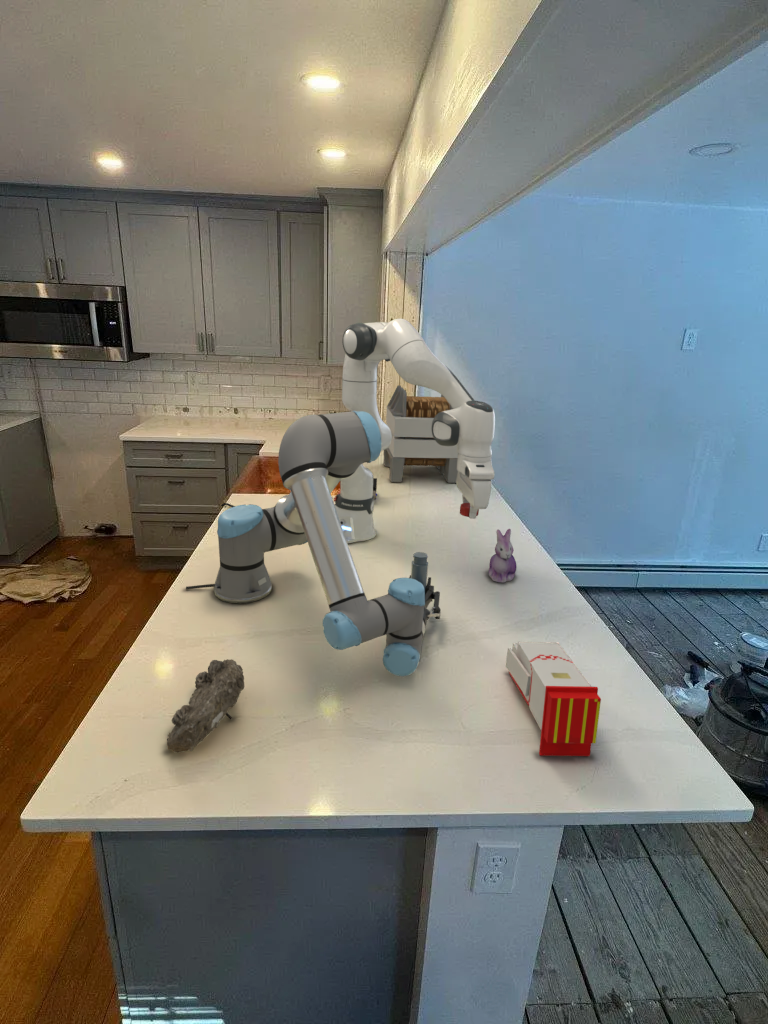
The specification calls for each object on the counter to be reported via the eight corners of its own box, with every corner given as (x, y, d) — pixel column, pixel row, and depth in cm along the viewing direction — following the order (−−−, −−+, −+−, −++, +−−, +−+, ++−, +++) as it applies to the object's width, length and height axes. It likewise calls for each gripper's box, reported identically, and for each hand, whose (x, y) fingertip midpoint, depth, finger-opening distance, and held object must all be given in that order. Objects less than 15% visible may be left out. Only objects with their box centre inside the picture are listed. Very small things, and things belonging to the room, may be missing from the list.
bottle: (414, 606, 152) (418, 549, 146) (427, 611, 149) (432, 554, 144) (405, 612, 149) (409, 554, 143) (418, 617, 146) (422, 559, 141)
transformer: (382, 463, 289) (386, 382, 275) (445, 464, 293) (451, 384, 279) (390, 482, 257) (394, 392, 243) (460, 483, 261) (468, 394, 247)
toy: (554, 624, 127) (610, 694, 97) (548, 679, 130) (602, 763, 100) (500, 623, 126) (541, 693, 97) (496, 678, 129) (534, 763, 100)
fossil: (192, 660, 117) (244, 628, 112) (224, 691, 120) (276, 661, 115) (142, 746, 98) (202, 712, 93) (182, 779, 101) (242, 748, 96)
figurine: (500, 586, 164) (506, 538, 159) (479, 572, 173) (484, 526, 168) (525, 580, 169) (532, 534, 164) (503, 567, 177) (509, 522, 172)
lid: (459, 516, 151) (460, 507, 151) (459, 510, 156) (460, 502, 155) (478, 517, 151) (479, 509, 150) (477, 511, 156) (478, 503, 155)
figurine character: (377, 508, 228) (376, 492, 242) (377, 490, 225) (377, 476, 238) (360, 507, 228) (361, 492, 242) (360, 490, 225) (361, 475, 238)
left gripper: (371, 634, 133) (387, 589, 154) (445, 644, 130) (451, 597, 152) (372, 606, 130) (389, 564, 152) (448, 615, 128) (453, 571, 149)
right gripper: (453, 454, 158) (449, 501, 163) (472, 474, 139) (467, 527, 144) (475, 454, 159) (470, 501, 164) (496, 475, 140) (491, 527, 145)
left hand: (420, 580), depth 152 cm, fingers closed on bottle, 4 cm apart
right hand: (469, 513), depth 154 cm, fingers closed on lid, 5 cm apart
